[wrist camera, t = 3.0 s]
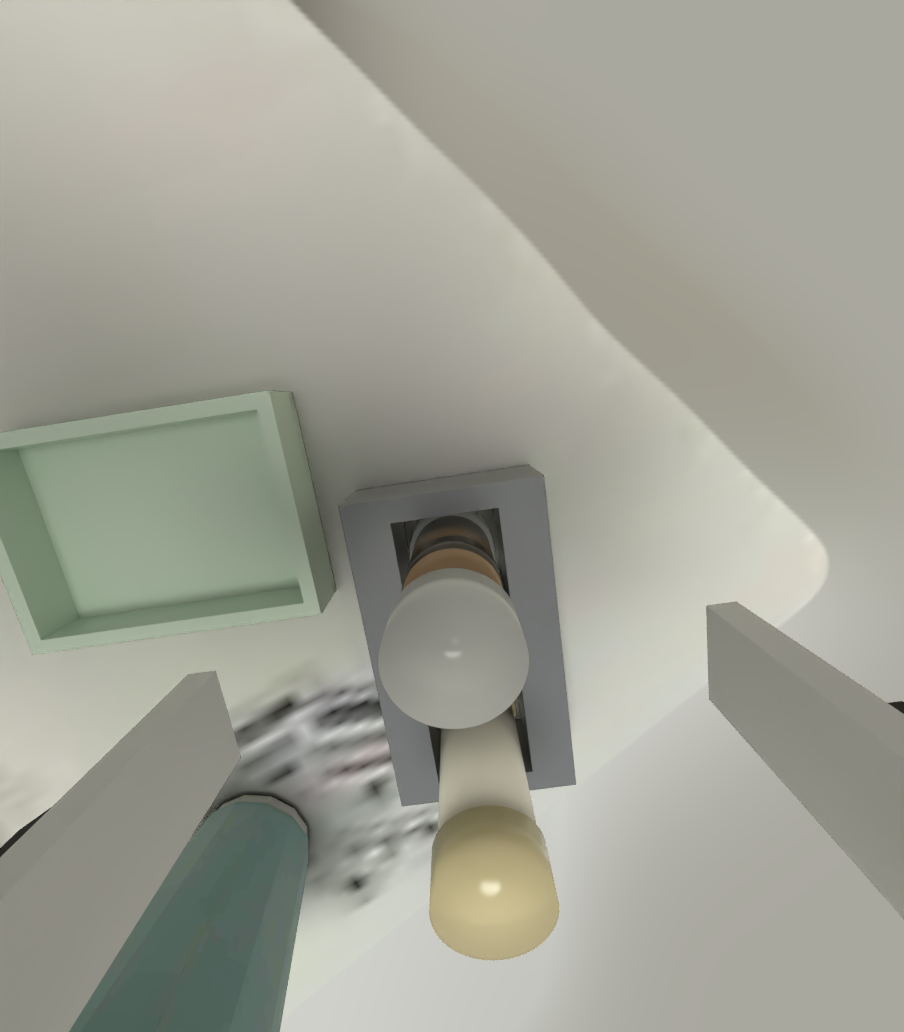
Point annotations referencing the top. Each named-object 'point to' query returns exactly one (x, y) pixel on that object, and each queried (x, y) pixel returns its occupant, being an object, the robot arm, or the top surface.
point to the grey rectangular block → (525, 579)
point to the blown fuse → (453, 629)
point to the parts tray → (161, 523)
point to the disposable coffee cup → (213, 931)
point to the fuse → (489, 847)
